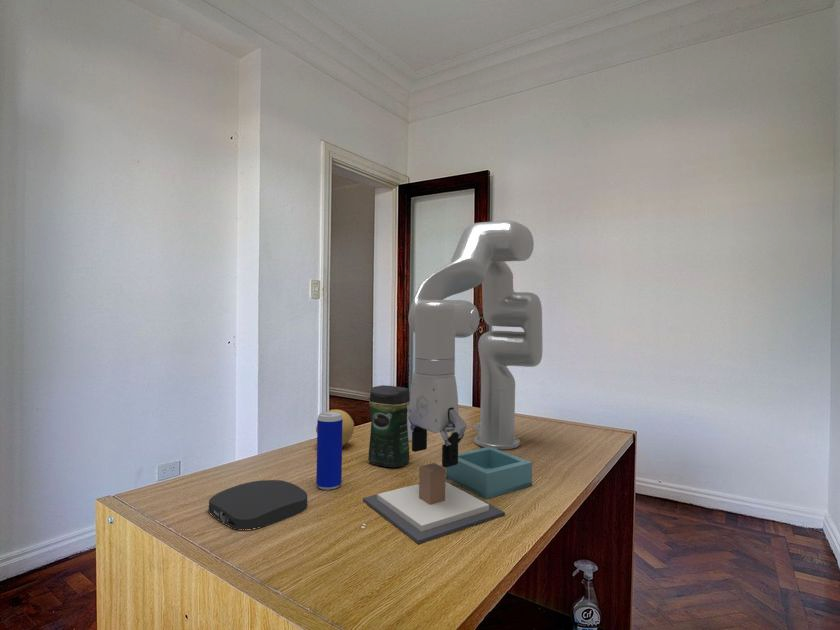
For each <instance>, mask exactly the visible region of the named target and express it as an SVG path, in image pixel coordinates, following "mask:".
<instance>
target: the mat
mask: <svg viewBox="0 0 840 630" xmlns="http://www.w3.org/2000/svg"><path fill="white" fill-rule="evenodd" d="M445 482H447V483H449V484H451V485H453V486H455V487H456V488H458V489H460V490H462V491H464V492H466V493H468V494H470V495H472V496H474V497H475V498H477V499H479V500H481V501H483V502H485V503H487V504H489V510H488V511H485V512H482V513H479V514H476V515H473V516H469V517H466V518H463V519H460V520H457V521H454V522H451V523H447V524H444V525H441V526H438V527H435V528H432V529H429V530H425V531H422V532H421V531H420V530H419V529H417V528H416V527H414V526H413V525H412V524H410V523H409V522H408V521H406V520H405V519H404V518H402V517H401V516H399V515H398V514H397V513H395V512H394V511H393V510H391V509H390V508H388V507H387V506H386V505H384V504H383V503H382V502H380V501H379V500H377V494H373V495H369V496H366V497H362V502H363V503H365V504H366V505H367V506H368V507H370V508H371V509H372V510H374V511H375V512H376V513H378V515H380V516H381V517H383V518H384V519H385V520H387V522H389V523H390V524H391V525H393V526H394V527H395V528H397V529H398V530H399V531H400V532H402V533H403V534H404V535H406V536H407V537H408V538H409V539H411V540H412V541H413V542H414V543H416V544H417V545H420V544H423V543H425V542H426V543H427V542H429V541H432V540H434V539H435V540H436V539H438V538H441V537H444V536H447V535H450V534H453V533H456V532H459V531H462V530H464V529H467V528H471V527H474V526H477V525H480V524H483V523H486V522H488V521H491V520H495V519H498V518H501V517H504V516H506V512H505V511H504V510H502V509H501V508H498V507H497V506H494V505H492V504H491V503H488V501H485V500H483V499H480V498H479V497H477V496H476V495H473V494H471V493H470V492H469V491H466V490H464V489H462V488H460V487H458V486H456V485H454V484H452V483H451V482H448V481H446V480H445Z"/></svg>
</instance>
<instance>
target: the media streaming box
mask: <svg viewBox="0 0 840 630" xmlns="http://www.w3.org/2000/svg"><path fill="white" fill-rule="evenodd" d="M307 508H308V493H307V491H305V489H302V488H301V487H300V486H298V485H297V484H294V483H292V482H289V481H285V480H280V479H266V480H264V479H263V480H262V479H261V480H255V481H249V482H244V483H241V484H238V485H233V486H232V487H231V486H230V488H226V489H225V490H222V491H220V492H216V494H215V495H213V496H211V497H210V498H209V500H208V513H209V512H210V513H211V514H212V515H213V516H215V517H216V518H217V519H219V520H220V521H222V522H224V523H225V524H227V525H229V526H230V527H232V528H235V529H242V530H243V529H244V530H245V529H253V528H258V527H261V528H263V527H262V526H264V527H266V526H265V525H267V526H269V525H268V524H270V525H272V524H275V523H277V521H278V522H280V521H282V519H283V520H285V519H287V518H290V517H292V516H294V515H295V516H296V515H298V514H299V513H302V512H304V511H306V509H307ZM212 515H211V516H212ZM213 516H212V517H213ZM216 518H215V519H216ZM217 519H216V520H217ZM219 520H218V521H219ZM220 521H219V522H220ZM222 522H221V523H222ZM274 522H275V523H274ZM225 524H224V525H225ZM227 525H226V526H227ZM230 527H229V528H230ZM232 528H231V529H232Z"/></svg>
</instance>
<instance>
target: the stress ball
mask: <svg viewBox="0 0 840 630" xmlns="http://www.w3.org/2000/svg"><path fill="white" fill-rule="evenodd" d="M327 412H339V413H341V415H342V418H343V425H342V447H343V446H344V445H346V444H347V443H349V441H350V440H351V439H352V437H353V435H354V431H355V430H354V429H355V422H354V420H353V418H352V416H351V415H349V413H347V412H346V411H344V410H341V409H330V410H327ZM315 432H316V433H317V426H316V428H315Z"/></svg>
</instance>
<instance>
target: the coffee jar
mask: <svg viewBox="0 0 840 630" xmlns="http://www.w3.org/2000/svg"><path fill="white" fill-rule="evenodd" d="M368 403H369V407H370V413H371V414H370V415H371V416H370V417H371V419H370V433H369V434H370V436H369V443H368V444H369V446H368V461H369V463H370V464H373V465H377V466H380V467H381V466H382V467H387V468H397V467H403V466H405V465H406V464H408V463H409V462H410V443H409V442H410V441H408V427H407V414H408V410H407V405H408V404H410V391H409V388H407V387H403V386H402V387H401V386H396V385H384V384H383V385H377V386H373V387H372V388H371V390H370V394H369V401H368Z"/></svg>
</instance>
